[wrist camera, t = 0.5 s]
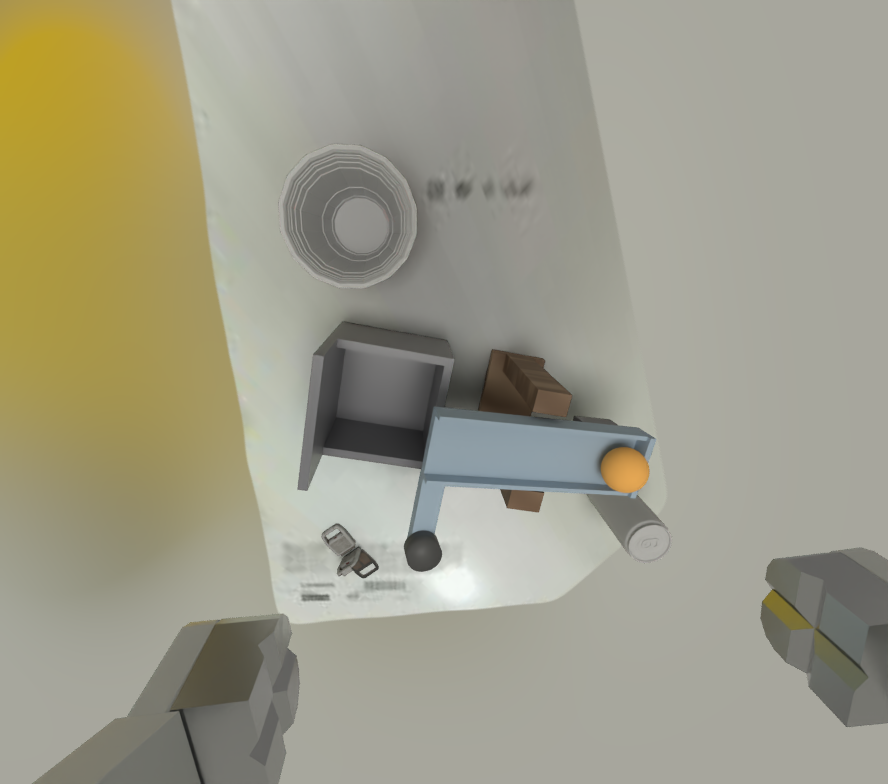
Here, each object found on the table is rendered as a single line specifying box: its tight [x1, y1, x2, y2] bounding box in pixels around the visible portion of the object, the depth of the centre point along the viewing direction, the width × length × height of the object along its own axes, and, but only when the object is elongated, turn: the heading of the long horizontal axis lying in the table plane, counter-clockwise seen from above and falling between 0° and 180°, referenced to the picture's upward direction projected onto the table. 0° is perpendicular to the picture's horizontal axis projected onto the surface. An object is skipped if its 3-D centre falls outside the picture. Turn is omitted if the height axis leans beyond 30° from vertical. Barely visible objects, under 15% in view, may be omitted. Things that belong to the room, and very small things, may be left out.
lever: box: [404, 406, 656, 572], centre depth 43 cm, size 14×20×6 cm
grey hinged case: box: [322, 524, 379, 578], centre depth 58 cm, size 8×3×4 cm, turn 35°
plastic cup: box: [278, 144, 417, 288], centre depth 42 cm, size 11×11×12 cm
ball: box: [601, 447, 649, 493], centre depth 41 cm, size 4×4×4 cm
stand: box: [478, 349, 572, 512], centre depth 48 cm, size 11×6×14 cm, turn 169°
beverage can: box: [588, 494, 672, 563], centre depth 53 cm, size 5×5×12 cm
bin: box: [297, 322, 454, 491], centre depth 45 cm, size 12×12×16 cm
